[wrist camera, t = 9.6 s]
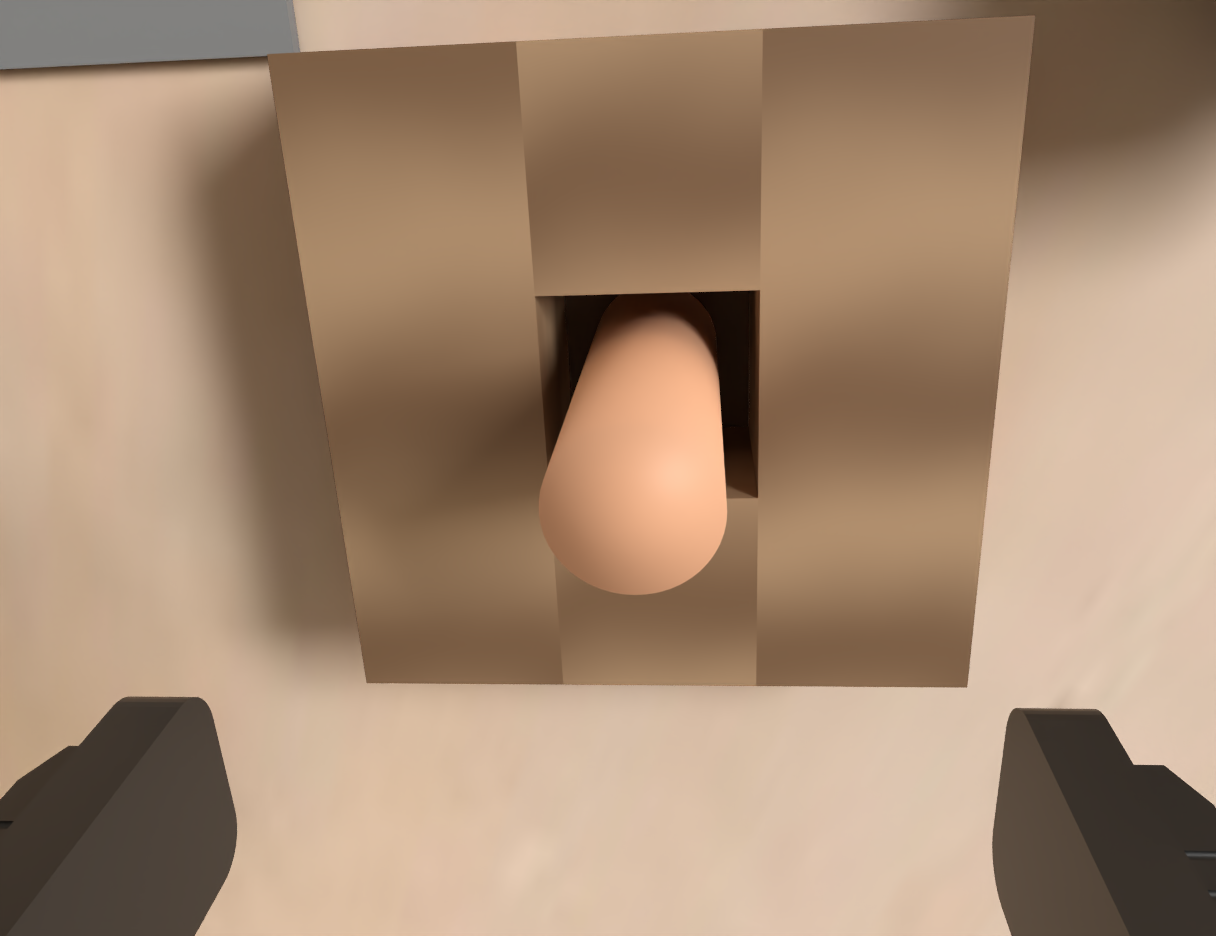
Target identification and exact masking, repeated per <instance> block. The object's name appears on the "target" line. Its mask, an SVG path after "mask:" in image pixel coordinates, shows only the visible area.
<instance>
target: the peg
mask: <svg viewBox="0 0 1216 936" xmlns="http://www.w3.org/2000/svg"><path fill="white" fill-rule="evenodd" d="M539 518H540V524H541V528H542V531H543V535H544V537H545V539H546V541H547V543H548V546H549V547H550V549H551V550H552V552H553V554H554V555H555V556H556V557H557V559H558V560H559V561H560V562H561V564H562V565H564V566H565V567H566V568H567V569H568V570H569V571H570V572H571V573H572V574H574V575H575V576H577V577H578V578H579V579H581V580H583V581H584V582H586V583H588V584H590V585H592V586H594V587H597V588H599V589H602V590H605V591H609V592H612V593H618V594H625V595H646V594H653V593H658V592H662V591H665V590H669V589H671V588H674V587H676V586H678V585H680V584H682V583H684V582H686V581H687V580H689V579H691V578H692V577H693V576H695V575H696V574H697V573H698V572H700V571H701V570H702V569H703V568H704V567H705V566H706V565H707V564H708V562H709V561H710V560H711V558H712V557H713V556H714V554H715V553H716V551H717V549H718V547H719V545H720V543H721V540H722V538H723V535H724V532H725V527H726V522H727V499H726V484H725V468H724V452H723V436H722V420H721V404H720V388H719V373H718V357H717V341H716V332H715V327H714V324H713V322H712V319H711V317H710V315H709V313H708V312H707V310H706V309H705V307H704V306H703V305H702V304H701V303H700V302H699V301H698V300H697V299H696V298H695V297H694V296H692V295H691V294H689V293H688V292H675V293H639V294H621V295H620V296H618V297H617V298H616V299H615V300H614V301H613V302H611V304H610V305H609V306H608V307H607V309H606V310H605V312H604V313H603V315H602V317H601V319H600V322H599V324H598V327H597V330H596V333H595V335H594V338H593V341H592V344H591V347H590V350H589V352H588V355H587V358H586V361H585V364H584V366H583V369H582V372H581V375H580V378H579V381H578V383H577V386H576V389H575V392H574V395H573V397H572V400H571V403H570V406H569V409H568V411H567V414H566V417H565V420H564V423H563V426H562V428H561V431H560V434H559V437H558V440H557V442H556V445H555V448H554V451H553V454H552V457H551V459H550V462H549V465H548V468H547V471H546V473H545V476H544V479H543V482H542V486H541V489H540V495H539Z"/></svg>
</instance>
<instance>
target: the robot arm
mask: <svg viewBox="0 0 1216 936" xmlns="http://www.w3.org/2000/svg"><path fill="white" fill-rule="evenodd" d="M236 839H237V820H236V813H235V808H234V804H233V800H232V796H231V791H230V787H229V783H228V779H227V774H226V770H225V766H224V762H223V758H222V753H221V749H220V745H219V741H218V737H217V732H216V728H215V724H214V720H213V716H212V713H211V710H210V708H209V706H208V705H207V703H206V702H205V701H204V700H203V699H201V698H198V697H125V698H123V699H121V700H120V701H118V702H117V703H116V704H115V705H114V706H113V707H112V708H111V709H110V710H109V712H108V713H107V714H106V715H105V716H104V717H103V718H102V720H101V721H100V722H99V723H98V724H97V725H96V727H95V728H94V729H93V730H92V731H91V732H90V734H89V735H88V736H87V737H86V738H85V739H84V741H83V742H82V743H81V744H80V745H79V746H68V747H66V748H65V749H63V750H62V751H60V752H59V753H57V754H56V755H54V756H53V757H51V758H50V759H48V760H47V761H46V762H44V763H43V764H41V765H40V766H38V767H37V768H35V769H34V770H32V771H31V772H29V773H28V774H26V775H25V776H23V777H22V778H20V779H19V780H18V781H17V782H16V783H15V784H14V785H13V786H12V787H11V788H10V789H9V791H8V792H7V793H6V794H5V795H4V796H3V797H2V798H1V799H0V936H195V934H196V932H197V930H198V929H199V927H200V925H201V923H202V921H203V920H204V918H205V916H206V914H207V912H208V911H209V909H210V907H211V905H212V903H213V902H214V900H215V898H216V896H217V894H218V893H219V891H220V889H221V887H222V885H223V884H224V882H225V880H226V878H227V876H228V873H229V871H230V868H231V865H232V861H233V857H234V853H235V847H236ZM992 849H993V866H994V874H995V881H996V886H997V891H998V895H999V899H1000V903H1001V906H1002V909H1003V912H1004V915H1005V918H1006V921H1007V923H1008V926H1009V929H1010V932H1011V935H1012V936H1216V808H1215V806H1214V805H1213V804H1212V803H1211V802H1209V801H1208V800H1207V799H1206V798H1204V797H1203V796H1202V795H1201V794H1199V793H1198V792H1197V791H1196V790H1194V789H1193V788H1192V787H1191V786H1189V785H1188V784H1187V783H1185V782H1184V781H1183V780H1182V779H1180V778H1179V777H1178V776H1177V775H1175V774H1174V773H1173V772H1172V771H1170V770H1169V769H1168V768H1167V767H1165V766H1164V765H1133V763H1132V761H1131V760H1130V758H1129V756H1128V755H1127V753H1126V751H1125V749H1124V748H1123V746H1122V744H1121V743H1120V741H1119V739H1118V738H1117V736H1116V734H1115V732H1114V731H1113V729H1112V727H1111V726H1110V724H1109V722H1108V721H1107V719H1106V718H1105V716H1104V715H1103V714H1102V713H1101V712H1100V711H1099V710H1097V709H1041V708H1015V709H1013V710H1012V712H1011V713H1010V716H1009V718H1008V722H1007V727H1006V734H1005V742H1004V750H1003V758H1002V765H1001V773H1000V781H999V789H998V797H997V804H996V812H995V820H994V828H993V842H992Z"/></svg>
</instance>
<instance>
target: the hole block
mask: <svg viewBox="0 0 1216 936" xmlns="http://www.w3.org/2000/svg"><path fill="white" fill-rule="evenodd" d="M1034 25H1035V15H1029V16H1009V17H990V18H970V19H950V20H930V21H911V22H891V23H871V24H851V25H832V26H812V27H792V28H772V29H752V30H733V31H713V32H693V33H673V34H654V35H634V36H614V37H594V38H575V39H555V40H535V41H515V42H496V43H476V44H456V45H436V46H417V47H397V48H377V49H357V50H338V51H318V52H298V53H278V54H267V58H268V64H269V70H270V77H271V83H272V89H273V96H274V102H275V108H276V114H277V121H278V127H279V133H280V140H281V146H282V152H283V158H284V165H285V171H286V177H287V184H288V190H289V196H290V203H291V209H292V215H293V221H294V228H295V234H296V240H297V247H298V253H299V259H300V265H301V272H302V278H303V284H304V291H305V297H306V303H307V310H308V316H309V322H310V328H311V335H312V341H313V347H314V354H315V360H316V366H317V372H318V379H319V385H320V391H321V398H322V404H323V410H324V417H325V423H326V429H327V435H328V442H329V448H330V454H331V461H332V467H333V473H334V479H335V486H336V492H337V498H338V505H339V511H340V517H341V524H342V530H343V536H344V542H345V549H346V555H347V561H348V568H349V574H350V580H351V586H352V593H353V599H354V605H355V612H356V618H357V624H358V631H359V637H360V643H361V649H362V656H363V662H364V668H365V675H366V681H367V683H437V684H572V685H708V686H843V687H967V684H968V674H969V664H970V654H971V644H972V635H973V625H974V615H975V605H976V595H977V585H978V576H979V566H980V556H981V546H982V536H983V527H984V517H985V507H986V497H987V487H988V477H989V468H990V458H991V448H992V438H993V428H994V418H995V409H996V399H997V389H998V379H999V369H1000V359H1001V350H1002V340H1003V330H1004V320H1005V310H1006V300H1007V291H1008V281H1009V271H1010V261H1011V251H1012V241H1013V232H1014V222H1015V212H1016V202H1017V192H1018V183H1019V173H1020V163H1021V153H1022V143H1023V133H1024V124H1025V114H1026V104H1027V94H1028V84H1029V74H1030V65H1031V55H1032V45H1033V35H1034ZM748 290H749V426H732V427H722V436H723V452H724V468H725V484H726V499H727V522H726V527H725V532H724V535H723V538H722V540H721V543H720V545H719V547H718V549H717V551H716V553H715V554H714V556H713V557H712V558H711V560H710V561H709V562H708V564H707V565H706V566H705V567H704V568H703V569H702V570H701V571H700V572H698V573H697V574H696V575H695V576H693V577H692V578H691V579H689V580H687V581H686V582H684V583H682V584H680V585H678V586H676V587H674V588H671V589H669V590H665V591H662V592H658V593H653V594H646V595H625V594H618V593H612V592H609V591H605V590H602V589H599V588H597V587H594V586H592V585H590V584H588V583H586V582H584V581H583V580H581V579H579V578H578V577H577V576H575V575H574V574H572V573H571V572H570V571H569V570H568V569H567V568H566V567H565V566H564V565H562V564H561V562H560V561H559V560H558V559H557V557H556V556H555V555H554V554H553V552H552V550H551V549H550V547H549V546H548V543H547V541H546V539H545V537H544V535H543V531H542V528H541V524H540V518H539V495H540V489H541V486H542V482H543V479H544V476H545V473H546V471H547V468H548V465H549V462H550V459H551V457H552V454H553V451H554V448H555V445H556V442H557V440H558V437H559V434H560V431H561V428H562V426H563V423H564V420H565V417H566V414H567V411H568V409H569V406H570V403H571V391H570V375H569V359H568V343H567V327H566V311H565V296H566V295H603V294H639V293H675V292H711V291H748Z"/></svg>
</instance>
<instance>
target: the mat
mask: <svg viewBox="0 0 1216 936" xmlns="http://www.w3.org/2000/svg"><path fill="white" fill-rule="evenodd" d="M298 52H300V48H299V41H298V34H297V27H296V21H295V14H294V7H293V0H0V69H19V68H39V67H59V66H79V65H98V64H118V63H138V62H158V61H178V60H198V59H217V58H237V57H257V56H267V54H278V53H298Z"/></svg>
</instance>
